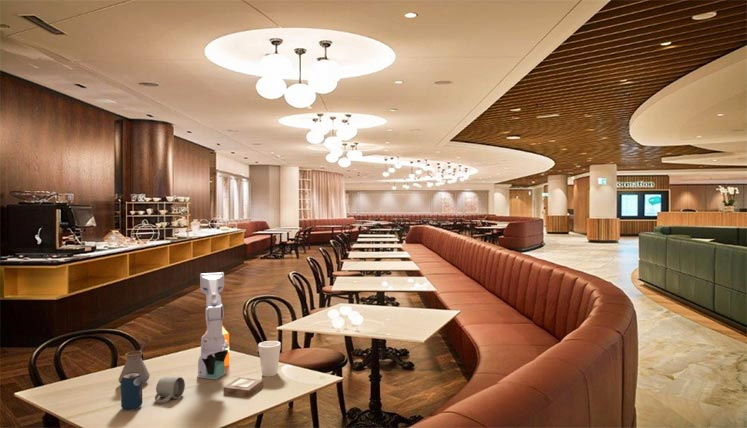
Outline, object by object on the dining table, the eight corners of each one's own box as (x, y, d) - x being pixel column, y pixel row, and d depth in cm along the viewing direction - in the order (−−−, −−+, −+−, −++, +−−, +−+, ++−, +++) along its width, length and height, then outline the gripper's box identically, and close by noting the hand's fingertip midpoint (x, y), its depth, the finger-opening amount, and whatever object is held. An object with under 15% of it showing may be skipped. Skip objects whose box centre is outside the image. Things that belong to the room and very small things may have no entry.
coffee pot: (143, 389, 193) (142, 351, 193) (113, 390, 192) (112, 352, 192) (162, 370, 215) (161, 336, 214) (135, 371, 214) (134, 337, 213)
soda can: (145, 407, 176) (145, 374, 176) (125, 413, 171) (125, 379, 171) (137, 401, 181) (137, 370, 181) (118, 407, 176) (117, 375, 176)
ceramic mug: (166, 392, 190) (166, 372, 190) (185, 393, 189) (185, 374, 188) (149, 403, 180) (148, 383, 180) (168, 405, 178) (168, 385, 178)
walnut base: (223, 394, 189) (223, 386, 189) (239, 384, 199) (239, 376, 199) (248, 398, 185) (248, 389, 185) (263, 387, 196) (263, 379, 196)
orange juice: (222, 360, 228) (221, 317, 228) (229, 365, 222) (229, 321, 221) (205, 363, 223) (205, 320, 223) (212, 368, 217) (212, 324, 216)
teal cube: (205, 377, 186) (205, 364, 186) (213, 372, 191) (213, 360, 191) (216, 378, 184) (216, 365, 184) (224, 374, 189) (224, 361, 189)
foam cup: (283, 370, 214) (283, 341, 214) (277, 377, 205) (277, 347, 205) (262, 369, 215) (262, 340, 215) (255, 377, 206) (255, 346, 206)
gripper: (212, 343, 179) (212, 379, 179) (234, 332, 193) (234, 366, 193) (195, 341, 181) (196, 377, 182) (219, 331, 195) (219, 364, 195)
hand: (215, 371), depth 188 cm, fingers closed on teal cube, 5 cm apart
